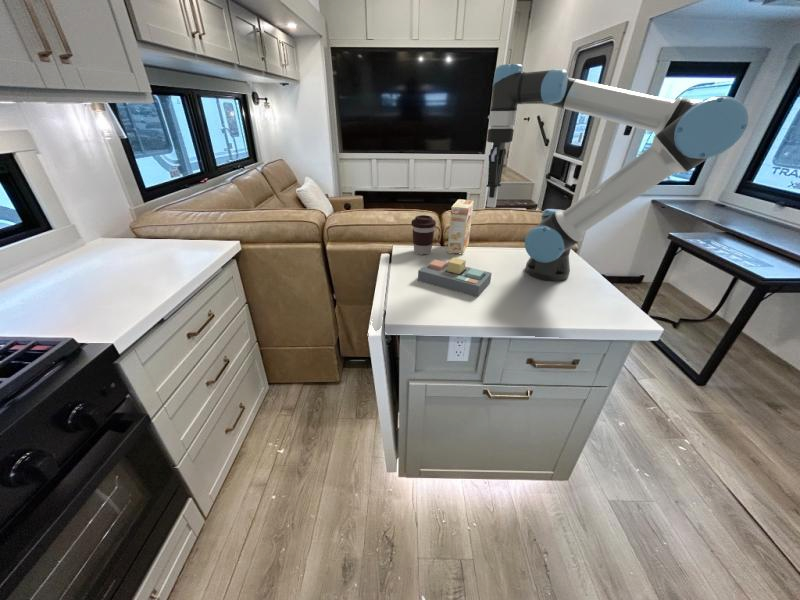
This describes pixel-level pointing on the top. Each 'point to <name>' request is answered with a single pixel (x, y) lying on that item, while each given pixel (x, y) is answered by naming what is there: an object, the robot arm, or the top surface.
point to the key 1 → (438, 265)
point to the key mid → (456, 265)
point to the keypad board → (454, 280)
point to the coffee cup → (423, 233)
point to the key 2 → (475, 274)
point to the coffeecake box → (460, 226)
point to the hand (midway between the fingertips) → (491, 206)
